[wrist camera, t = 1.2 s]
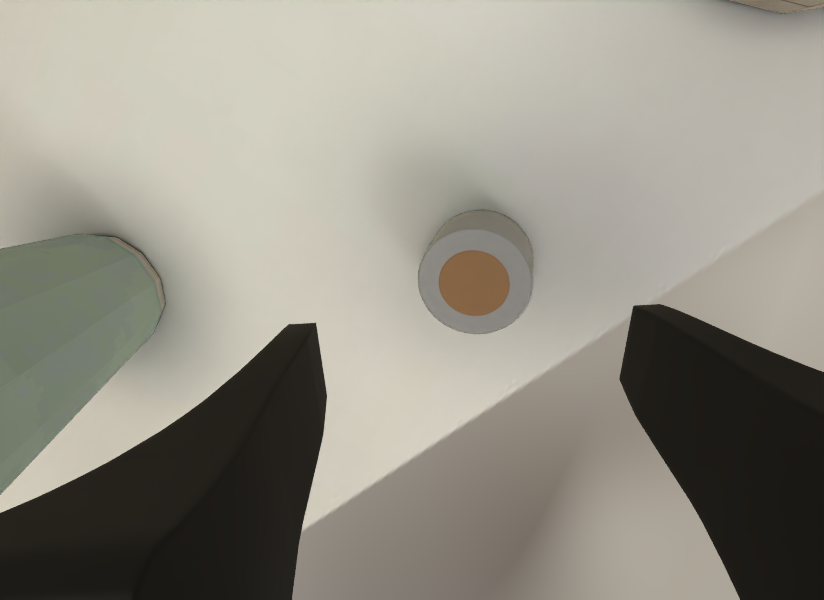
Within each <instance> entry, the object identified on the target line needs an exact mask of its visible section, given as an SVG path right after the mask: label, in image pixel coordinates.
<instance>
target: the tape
mask: <svg viewBox="0 0 824 600" xmlns="http://www.w3.org/2000/svg"><path fill="white" fill-rule="evenodd" d="M418 286H419V291H420V294H421V297H422V300H423V302H424V303H425V305H426V307H427V308H428V310H429V311H430V312H431V313H432V315H433V316H434V317H435V318H437V319H438V320H439V321H440V322H442V323H443V324H444V325H446V326H448V327H450V328H452V329H454V330H457V331H460V332H464V333H470V334H485V333H491V332H494V331H497V330H500V329H502V328H504V327H506V326H508V325H510V324H511V323H513V322H514V321H515V320H516V319H517V318H518V317H519V316H520V315H521V314H522V313H523V311H524V310H525V308H526V307H527V305H528V303H529V300H530V297H531V294H532V288H533V254H532V248H531V245H530V242H529V240H528V238H527V236H526V235H525V233H524V232H523V230H522V229H521V228H520V227H519V226H518V225H517V224H516V223H515V222H514V221H512V220H511V219H509V218H508V217H506V216H504V215H502V214H499V213H496V212H492V211H486V210H475V211H469V212H465V213H462V214H460V215H457V216H455V217H454V218H452V219H450V220H449V221H448V222H447V223H445V224H444V225H443V226H442V227H441V229H440V230H439V231H438V233H437V234H436V236H435V238H434V239H433V241H432V243H431V244H430V246H429V248H428V249H427V251H426V253H425V254H424V256H423V258H422V261H421V263H420V267H419V271H418Z"/></svg>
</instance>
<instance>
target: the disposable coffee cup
mask: <svg viewBox="0 0 824 600" xmlns="http://www.w3.org/2000/svg"><path fill="white" fill-rule="evenodd" d="M164 306H165V299H164V294H163V290H162V285H161V280H160V277H159V276H158V275H157V273H156V272H155V270H154V269H153V268H152V266H151V265H150V264H149V262H148V261H147V259H146V258H145V257H144V255H143V254H142V253H141V252H139V251H137V250H136V249H134V248H133V247H131V246H129V245H128V244H126V243H125V242H123V241H121V240H120V239H118V238H116V237H105V236H95V235H84V234H75V235H69V236H64V237H59V238H54V239H49V240H43V241H38V242H33V243H28V244H23V245H17V246H12V247H7V248H2V249H0V495H1V494H2V493H3V491H4V490H5V489H6V488H7V487H8V486H9V485H10V484H11V483H12V482H13V481H14V480H15V479H16V478H17V477H18V476H19V475H20V474H21V472H22V471H23V470H24V469H25V468H26V467H27V466H28V465H29V464H30V463H31V462H32V461H33V460H34V459H35V458H36V457H37V456H38V454H39V453H40V452H41V451H42V450H43V449H44V448H45V447H46V446H47V445H48V444H49V443H50V442H51V441H52V440H53V439H54V438H55V436H56V435H57V434H58V433H59V432H60V431H61V430H62V429H63V428H64V427H65V426H66V425H67V424H68V423H69V422H70V421H71V420H72V419H73V417H74V416H75V415H76V414H77V413H78V412H79V411H80V410H81V409H82V408H83V407H84V406H85V405H86V404H87V403H88V402H89V401H90V399H91V398H92V397H93V396H94V395H95V394H96V393H97V392H98V391H99V390H100V389H101V388H102V387H103V386H104V385H105V384H106V383H107V382H108V380H109V379H110V378H111V377H112V376H113V375H114V374H115V373H116V372H117V371H118V370H119V369H120V368H121V367H122V366H123V365H124V364H125V362H126V361H127V360H128V359H129V358H130V357H131V356H132V355H133V354H134V353H135V352H136V351H137V350H138V349H139V348H140V347H141V346H142V344H143V343H144V342H145V341H146V340H147V339H148V338H149V337H150V336H151V335H152V334H153V333H154V330H155V327H156V325H157V323H158V321H159V319H160V316H161V313H162V311H163V308H164Z"/></svg>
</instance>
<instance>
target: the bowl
mask: <svg viewBox="0 0 824 600" xmlns="http://www.w3.org/2000/svg"><path fill="white" fill-rule="evenodd" d="M730 1H734V2H738V3H742V4H746V5H750V6H754V7H757V8H761V9H765V10H769V11H773V12H777V13H791V12H797V11H803V10H809V9H815V8H821V7H824V0H730Z"/></svg>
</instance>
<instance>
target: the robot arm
mask: <svg viewBox="0 0 824 600" xmlns="http://www.w3.org/2000/svg"><path fill="white" fill-rule="evenodd" d="M620 382H621V384H622V386H623V389H624V391H625V393H626V396H627V398H628V400H629V402H630V405H631V407H632V409H633V411H634V413H635V415H636V417H637V419H638V420H639V422H640V423H641V425H642V427H643V428H644V430H645V432H646V433H647V435H648V436H649V438H650V439H651V441H652V443H653V444H654V446H655V447H656V449H657V450H658V452H659V454H660V455H661V457H662V458H663V459H664V461H665V463H666V464H667V466H668V467H669V469H670V471H671V472H672V474H673V475H674V477H675V478H676V480H677V481H678V483H679V484H680V486H681V488H682V489H683V491H684V492H685V493H686V495H687V497H688V498H689V500H690V502H691V503H692V505H693V507H694V509H695V510H696V512H697V514H698V515H699V517H700V519H701V521H702V522H703V524H704V526H705V528H706V530H707V532H708V534H709V536H710V538H711V540H712V542H713V544H714V546H715V548H716V550H717V552H718V554H719V556H720V558H721V560H722V562H723V564H724V566H725V568H726V570H727V572H728V574H729V577H730V579H731V581H732V583H733V585H734V587H735V589H736V591H737V594H738V596H739V598H740V600H824V372H822V371H819V370H816V369H813V368H811V367H808V366H805V365H803V364H801V363H798V362H795V361H793V360H791V359H788V358H786V357H783V356H781V355H778V354H776V353H773V352H771V351H769V350H766V349H764V348H762V347H759V346H757V345H755V344H752V343H750V342H748V341H746V340H743V339H741V338H739V337H737V336H735V335H732V334H730V333H728V332H726V331H723V330H721V329H719V328H717V327H715V326H712V325H710V324H708V323H706V322H704V321H701V320H699V319H697V318H694V317H692V316H690V315H688V314H685V313H683V312H681V311H678V310H675V309H673V308H670V307H667V306H664V305H661V304H656V305H637V306H633V310H632V316H631V321H630V327H629V331H628V337H627V342H626V347H625V353H624V358H623V363H622V368H621V373H620ZM326 400H327V393H326V387H325V380H324V374H323V367H322V360H321V354H320V347H319V341H318V334H317V327H316V323H307V324H289V325H288V326H287V327H285V328H284V329H283V330H282V331H281V332H280V333H279V334H278V335H277V336H276V337H275V338H274V339H273V340H272V341H271V342H270V343H269V344H268V345H267V346H266V347H265V348H264V349H262V350H261V351H260V352H259V353H258V354H257V355H256V356H255V357H254V358H253V359H252V360H251V361H250V362H249V363H248V364H246V365H245V366H244V367H243V368H242V369H241V370H240V371H239V372H238V373H237V374H235V375H234V376H233V377H232V378H231V379H229V380H228V381H227V382H226V383H225V384H223V385H222V386H221V387H220V388H219V389H217V390H216V391H215V392H214V393H213V394H212V395H210V396H209V397H208V398H207V399H205V400H204V401H203V402H201V403H200V404H199V405H198V406H196V407H195V408H193V409H192V410H191V411H189V412H188V413H187V414H185V415H184V416H182V417H181V418H179V419H178V420H176V421H175V422H173V423H172V424H171V425H169V426H168V427H166V428H165V429H163V430H162V431H160V432H158V433H157V434H155V435H153V436H152V437H150V438H148V439H147V440H145V441H143V442H142V443H140V444H138V445H137V446H135V447H133V448H132V449H130V450H128V451H127V452H125V453H123V454H121V455H120V456H118V457H116V458H115V459H113V460H111V461H109V462H107V463H106V464H104V465H102V466H100V467H98V468H96V469H94V470H92V471H90V472H88V473H86V474H85V475H83V476H81V477H79V478H77V479H75V480H72V481H70V482H68V483H66V484H64V485H62V486H60V487H58V488H56V489H54V490H52V491H50V492H48V493H45V494H43V495H41V496H39V497H37V498H35V499H32V500H30V501H28V502H25V503H23V504H21V505H18V506H16V507H14V508H11V509H9V510H7V511H4V512H2V513H0V600H292V593H293V585H294V577H295V569H296V562H297V554H298V545H299V540H300V535H301V529H302V524H303V520H304V515H305V511H306V507H307V503H308V498H309V494H310V490H311V485H312V481H313V477H314V473H315V468H316V464H317V460H318V455H319V451H320V446H321V442H322V437H323V431H324V422H325V411H326Z"/></svg>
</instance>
